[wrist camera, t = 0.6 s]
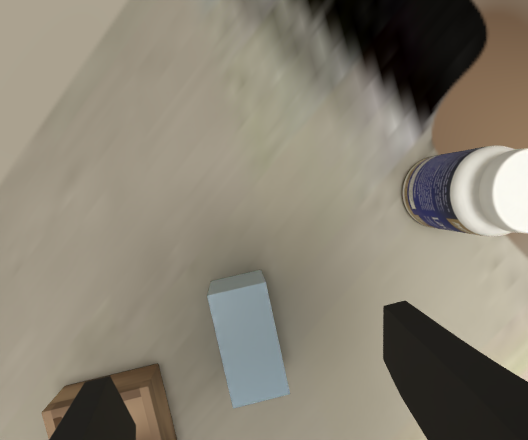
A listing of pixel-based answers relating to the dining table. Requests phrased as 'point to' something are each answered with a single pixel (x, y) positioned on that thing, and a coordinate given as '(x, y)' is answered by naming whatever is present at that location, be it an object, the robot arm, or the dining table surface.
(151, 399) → the brown wooden tray
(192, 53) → the dining table surface
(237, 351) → the blue-grey rectangular block
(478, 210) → the pill bottle
